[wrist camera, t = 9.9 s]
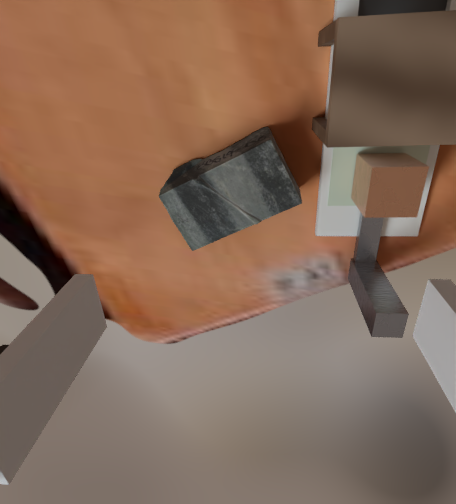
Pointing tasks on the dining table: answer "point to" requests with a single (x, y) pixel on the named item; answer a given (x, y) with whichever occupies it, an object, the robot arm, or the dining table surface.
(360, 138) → the small grey table
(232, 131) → the dining table surface
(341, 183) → the white flat panel
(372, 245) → the grey l-shaped piece
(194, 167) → the stone block
